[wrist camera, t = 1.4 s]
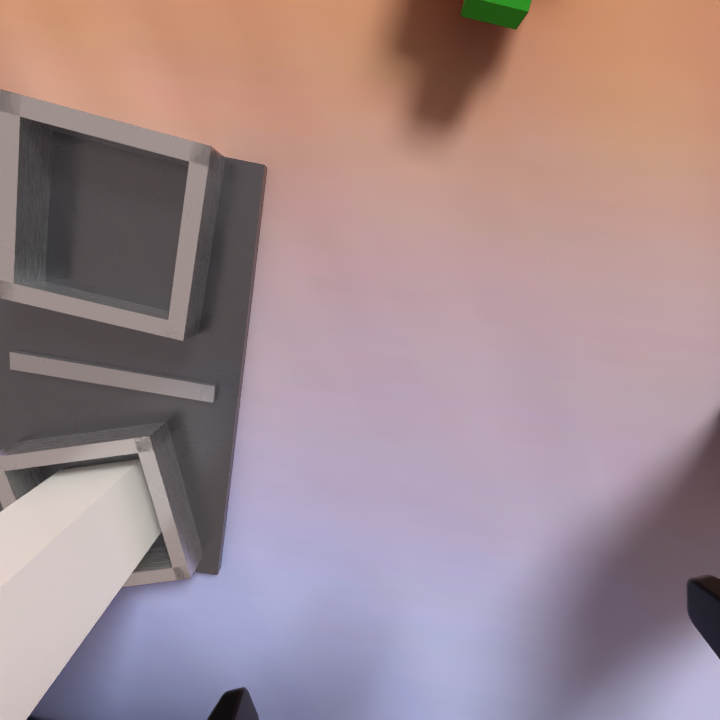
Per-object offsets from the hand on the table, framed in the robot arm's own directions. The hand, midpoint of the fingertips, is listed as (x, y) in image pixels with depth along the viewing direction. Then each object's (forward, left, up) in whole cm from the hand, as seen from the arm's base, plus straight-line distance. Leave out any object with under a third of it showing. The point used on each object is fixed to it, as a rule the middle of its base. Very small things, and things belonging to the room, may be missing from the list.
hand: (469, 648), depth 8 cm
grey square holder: (+15, +2, -12) cm, 19 cm away
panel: (+11, +7, -12) cm, 18 cm away
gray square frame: (+8, +13, -12) cm, 19 cm away
